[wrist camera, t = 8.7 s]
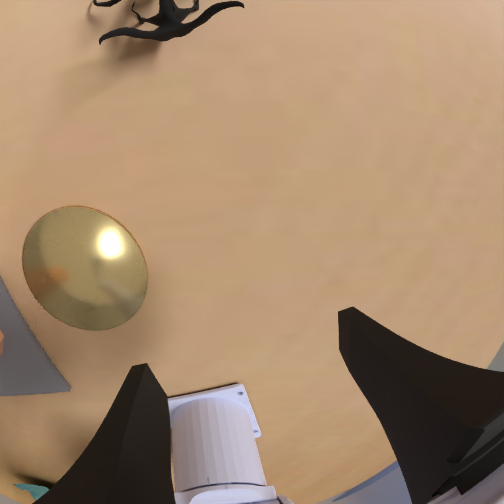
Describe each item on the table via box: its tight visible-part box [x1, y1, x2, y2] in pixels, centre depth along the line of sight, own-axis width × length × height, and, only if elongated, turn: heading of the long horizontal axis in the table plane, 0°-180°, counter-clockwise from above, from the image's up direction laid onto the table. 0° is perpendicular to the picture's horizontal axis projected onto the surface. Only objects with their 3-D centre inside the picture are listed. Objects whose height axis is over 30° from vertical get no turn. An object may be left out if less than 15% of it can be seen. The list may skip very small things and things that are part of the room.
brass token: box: [23, 206, 147, 330], centre depth 18 cm, size 9×9×1 cm
